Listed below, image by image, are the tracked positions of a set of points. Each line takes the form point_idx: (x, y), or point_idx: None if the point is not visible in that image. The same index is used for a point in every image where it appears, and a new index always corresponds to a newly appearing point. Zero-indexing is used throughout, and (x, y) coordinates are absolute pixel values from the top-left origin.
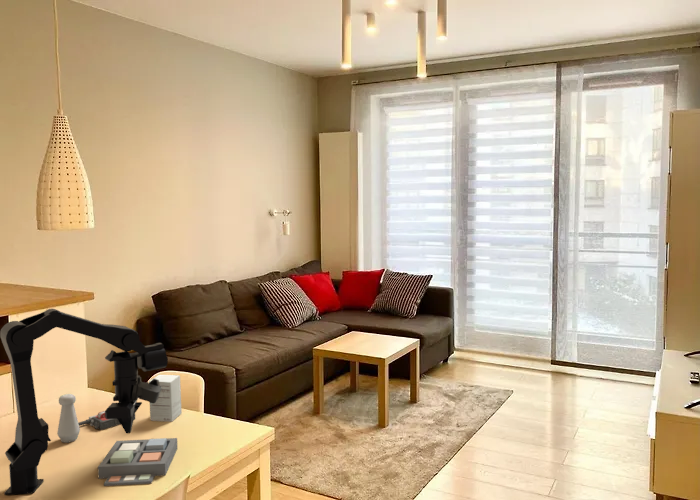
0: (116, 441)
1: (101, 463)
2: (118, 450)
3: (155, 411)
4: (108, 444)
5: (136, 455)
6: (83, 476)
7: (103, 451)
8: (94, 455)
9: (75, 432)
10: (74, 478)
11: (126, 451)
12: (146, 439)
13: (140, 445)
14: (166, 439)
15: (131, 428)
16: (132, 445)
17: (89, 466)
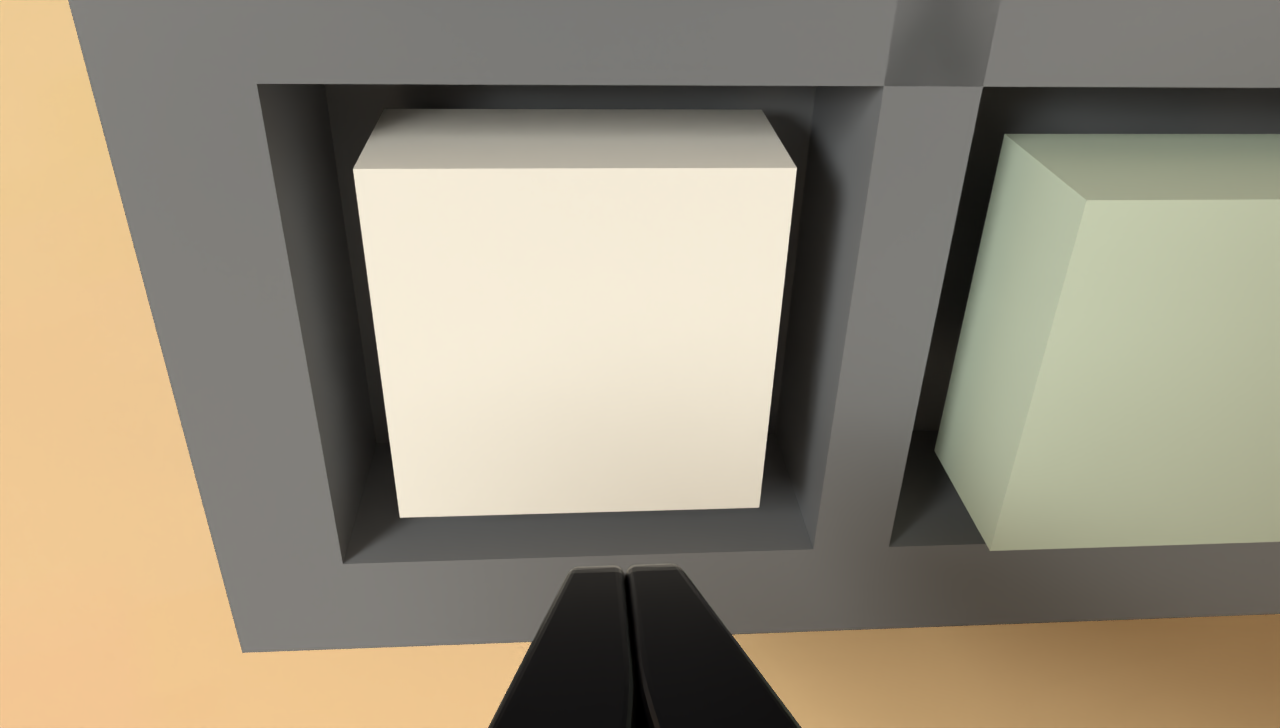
0: (278, 646)
1: (1264, 600)
2: (754, 503)
3: None
4: (19, 682)
5: (1167, 61)
6: (1088, 652)
7: (294, 669)
8: (436, 723)
9: None
10: (1105, 715)
11: (1103, 336)
12: (84, 41)
13: (298, 142)
14: None
15: (611, 647)
16: (524, 306)
17: (795, 677)
